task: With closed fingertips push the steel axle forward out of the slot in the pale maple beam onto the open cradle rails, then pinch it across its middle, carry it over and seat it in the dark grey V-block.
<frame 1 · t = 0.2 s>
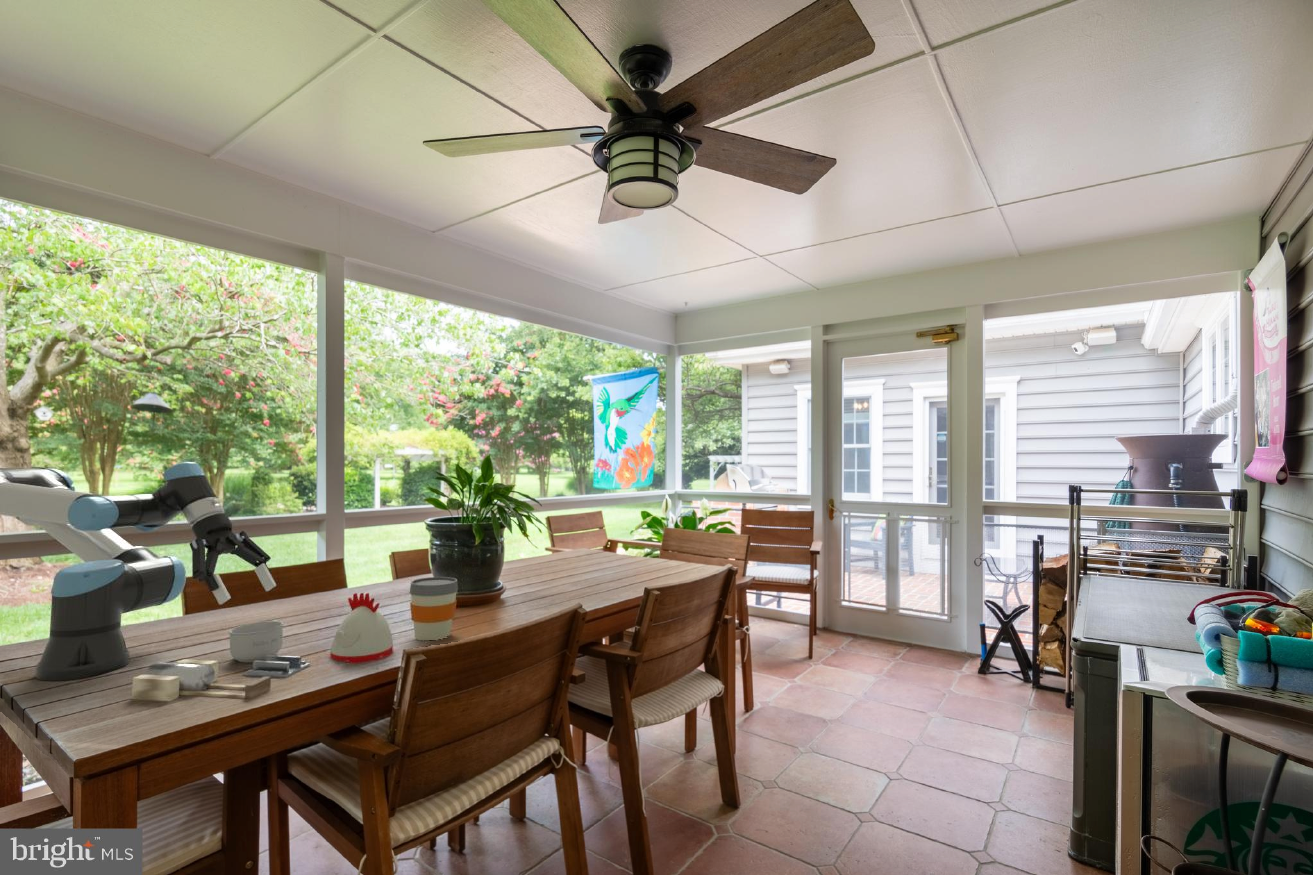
hand: (249, 594, 145), 15 cm above the table, tool tilted 35°, fingers open, 13 cm apart
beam: (208, 693, 122), on the table
reusable coffee cup: (432, 636, 165), on the table
teacup: (260, 658, 145), on the table
kitchen timer: (362, 655, 149), on the table
axle: (178, 689, 123), resting on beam
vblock: (277, 672, 135), on the table
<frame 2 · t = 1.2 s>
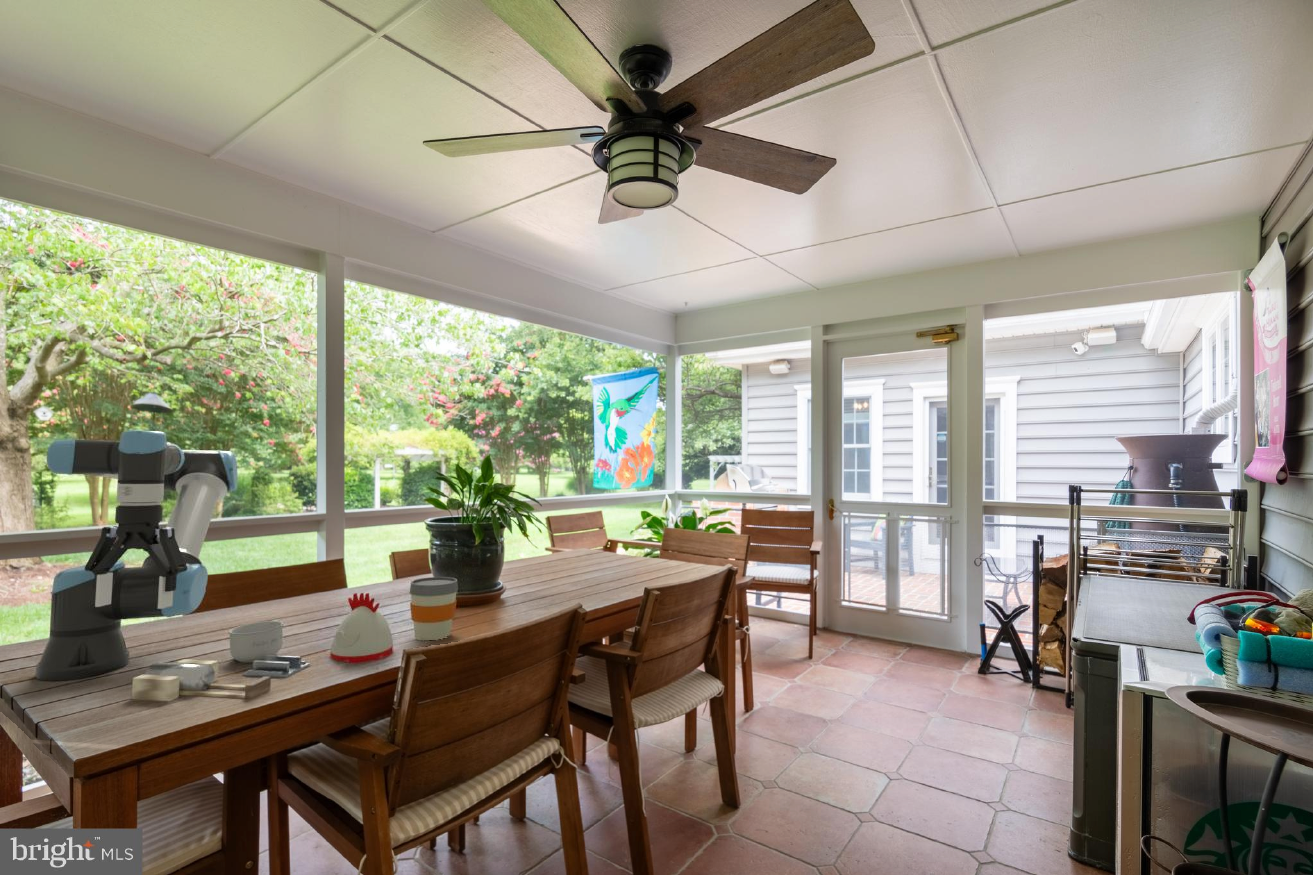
hand: (134, 606, 125), 17 cm above the table, tool pointing down, fingers open, 13 cm apart
nothing on the table moved.
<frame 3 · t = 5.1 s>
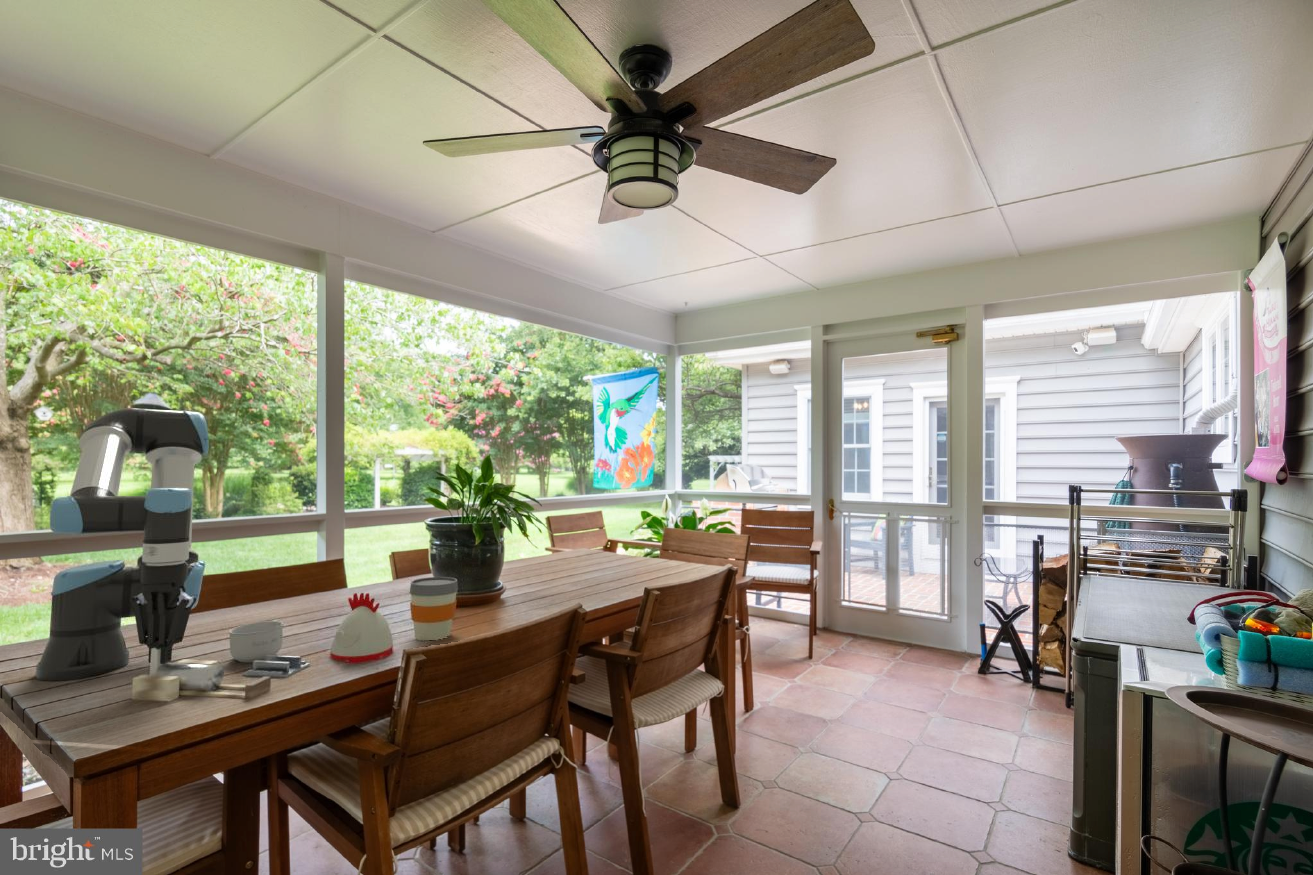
hand: (158, 678, 123), 2 cm above the table, tool pointing down, fingers closed
axle: (187, 689, 123), point 1 cm above the table, touching gripper
everything else where it was.
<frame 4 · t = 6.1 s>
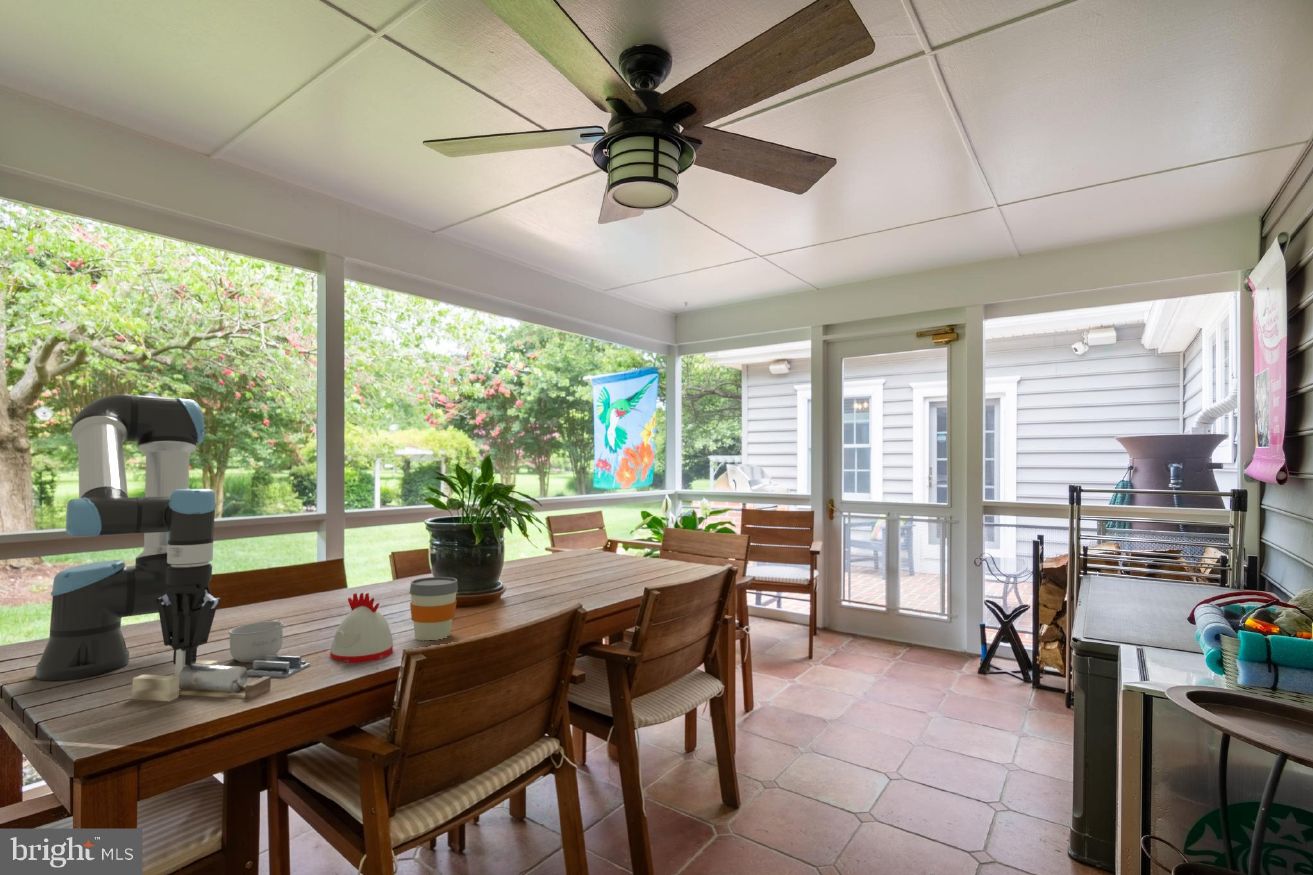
hand: (183, 680, 123), 2 cm above the table, tool pointing down, fingers closed
axle: (211, 691, 122), point 1 cm above the table, tilted 6°
everything else where it was.
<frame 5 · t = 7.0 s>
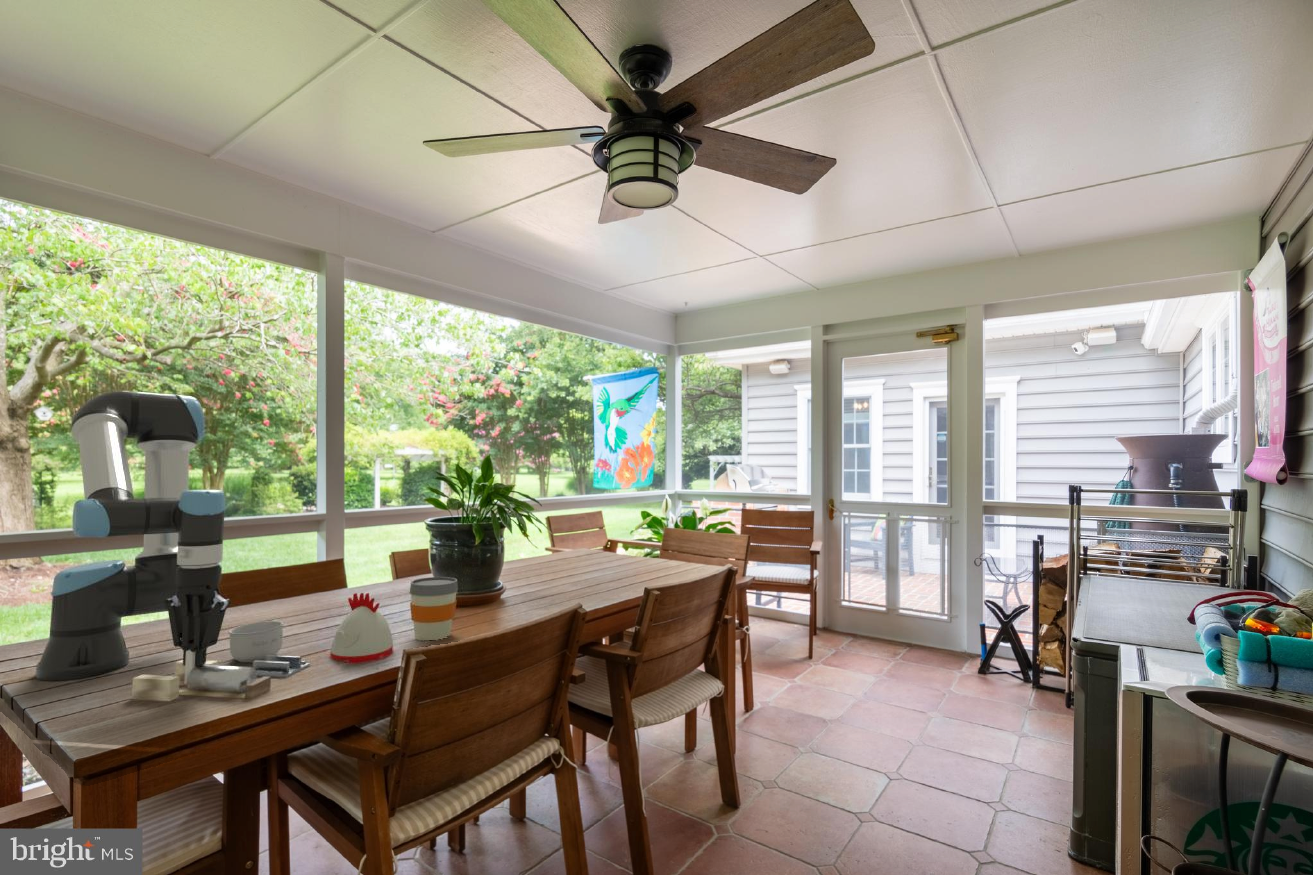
hand: (193, 681, 123), 2 cm above the table, tool pointing down, fingers closed
axle: (220, 691, 122), point 1 cm above the table, tilted 7°, touching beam, gripper
everything else where it was.
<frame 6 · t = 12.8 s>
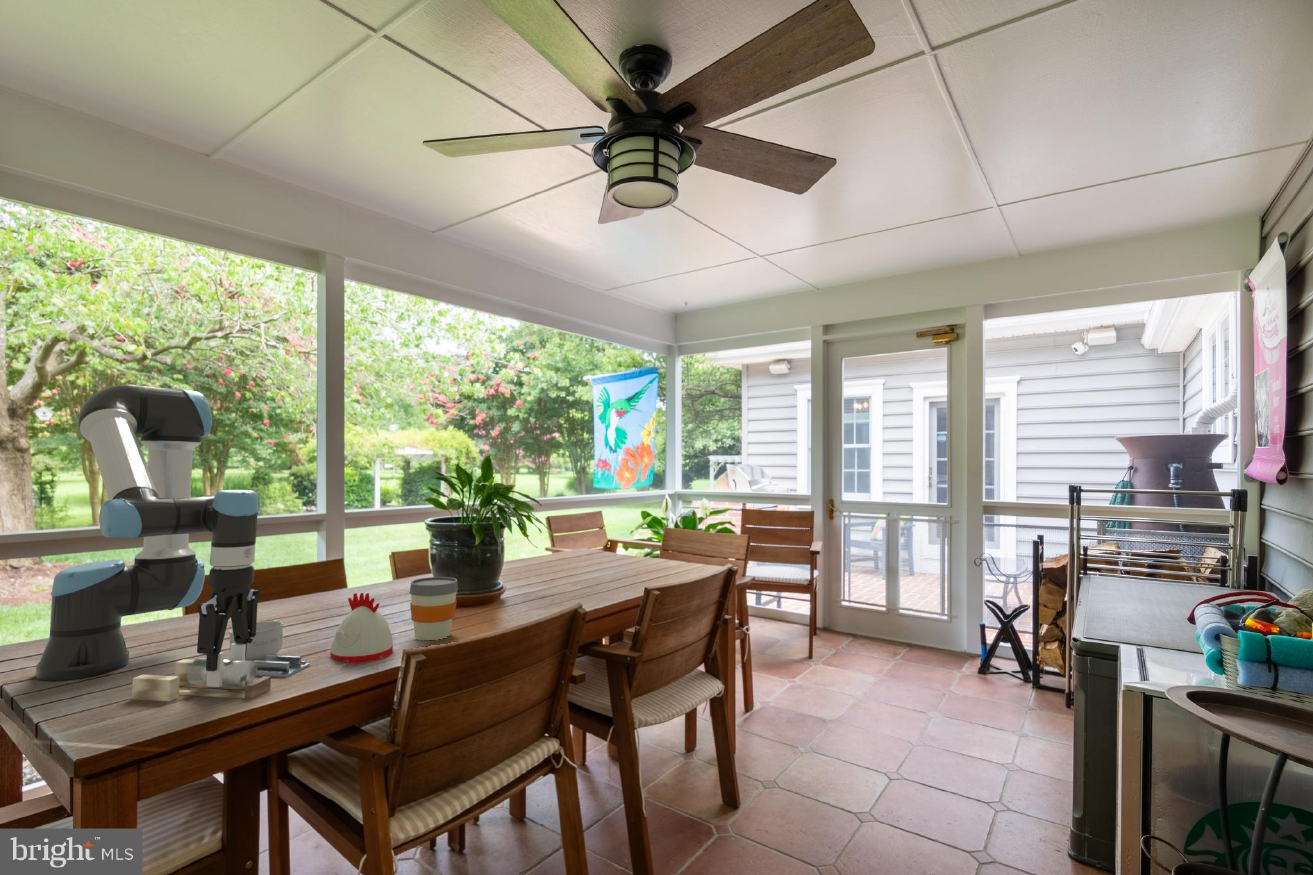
hand: (225, 680, 122), 3 cm above the table, tool pointing down, fingers closed on axle, 5 cm apart
axle: (221, 685, 122), point 2 cm above the table, touching gripper
everything else where it was.
when the fingers open (2 cm above the table, at t = 16.5 s): axle stays where it is, resting on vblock.
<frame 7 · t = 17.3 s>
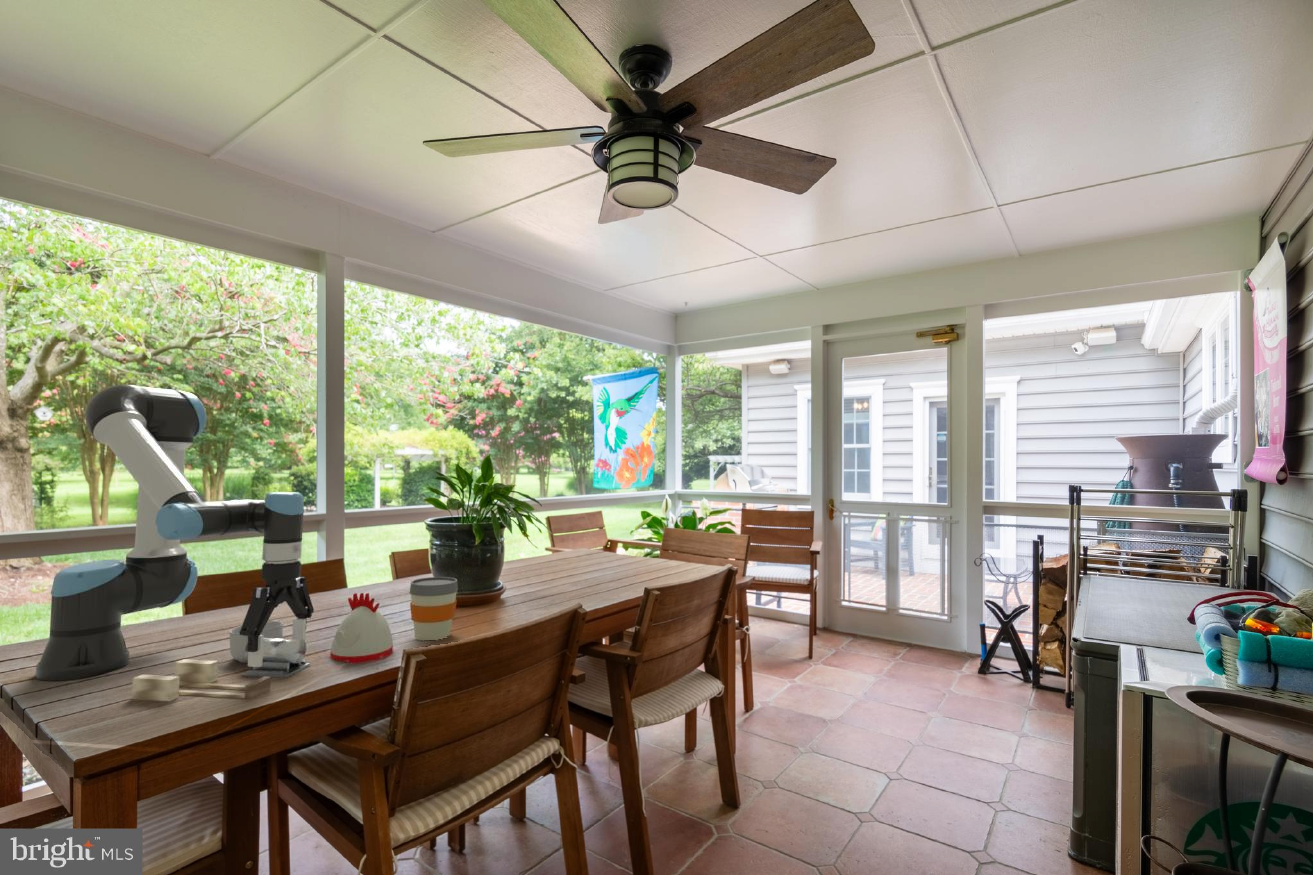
hand: (277, 656, 135), 4 cm above the table, tool pointing down, fingers open, 13 cm apart
axle: (274, 661, 135), point 2 cm above the table, tilted 6°, touching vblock
everything else where it was.
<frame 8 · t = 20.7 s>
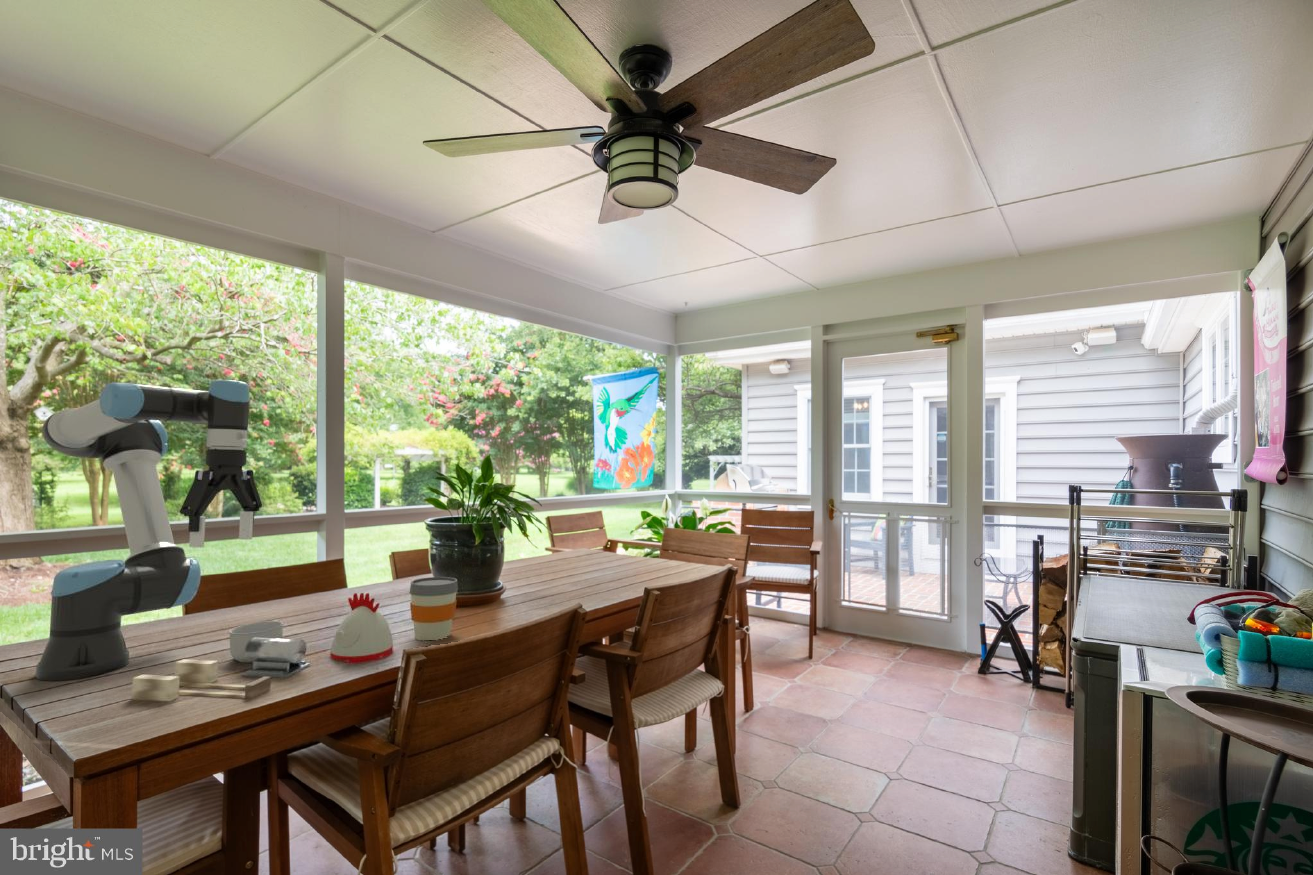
hand: (222, 543, 135), 29 cm above the table, tool pointing down, fingers open, 13 cm apart
nothing on the table moved.
at the end: axle inside the target area on the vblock (0.6 cm from its centre), point 2.4 cm above the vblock's base; the gripper is holding nothing; axle inside the target area (0.6 cm from its centre), point 2.4 cm above the table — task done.
